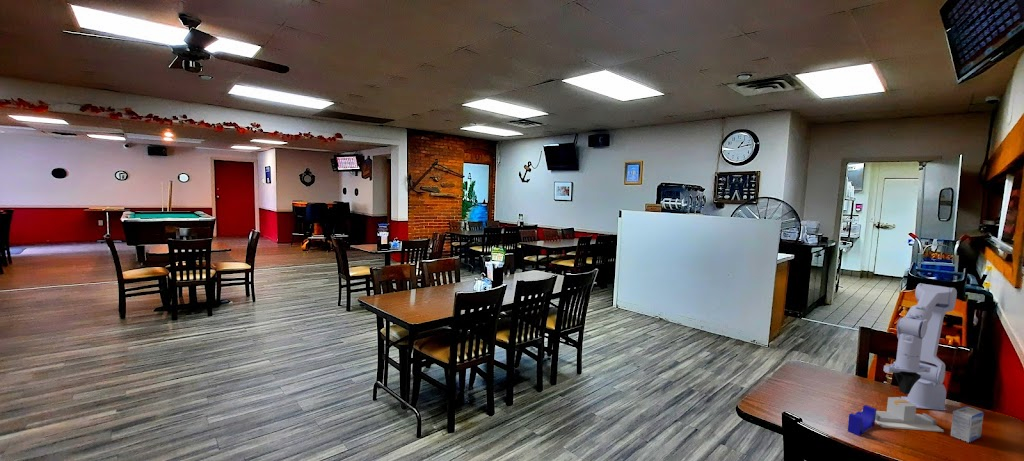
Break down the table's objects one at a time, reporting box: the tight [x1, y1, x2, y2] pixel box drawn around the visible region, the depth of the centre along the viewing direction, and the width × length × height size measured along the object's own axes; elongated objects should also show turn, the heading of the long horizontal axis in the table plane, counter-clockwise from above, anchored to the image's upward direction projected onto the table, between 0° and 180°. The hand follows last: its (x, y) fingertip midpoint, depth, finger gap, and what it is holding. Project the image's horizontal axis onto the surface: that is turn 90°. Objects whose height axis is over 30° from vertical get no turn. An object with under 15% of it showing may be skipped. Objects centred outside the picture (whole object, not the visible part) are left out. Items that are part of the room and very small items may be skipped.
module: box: [886, 396, 917, 421], centre depth 144 cm, size 4×6×5 cm
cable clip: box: [847, 404, 877, 437], centre depth 140 cm, size 12×4×6 cm, turn 121°
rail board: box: [861, 409, 945, 433], centre depth 144 cm, size 18×10×2 cm, turn 82°
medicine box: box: [950, 405, 984, 444], centre depth 135 cm, size 8×4×9 cm, turn 114°
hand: (904, 392), depth 143 cm, fingers closed
